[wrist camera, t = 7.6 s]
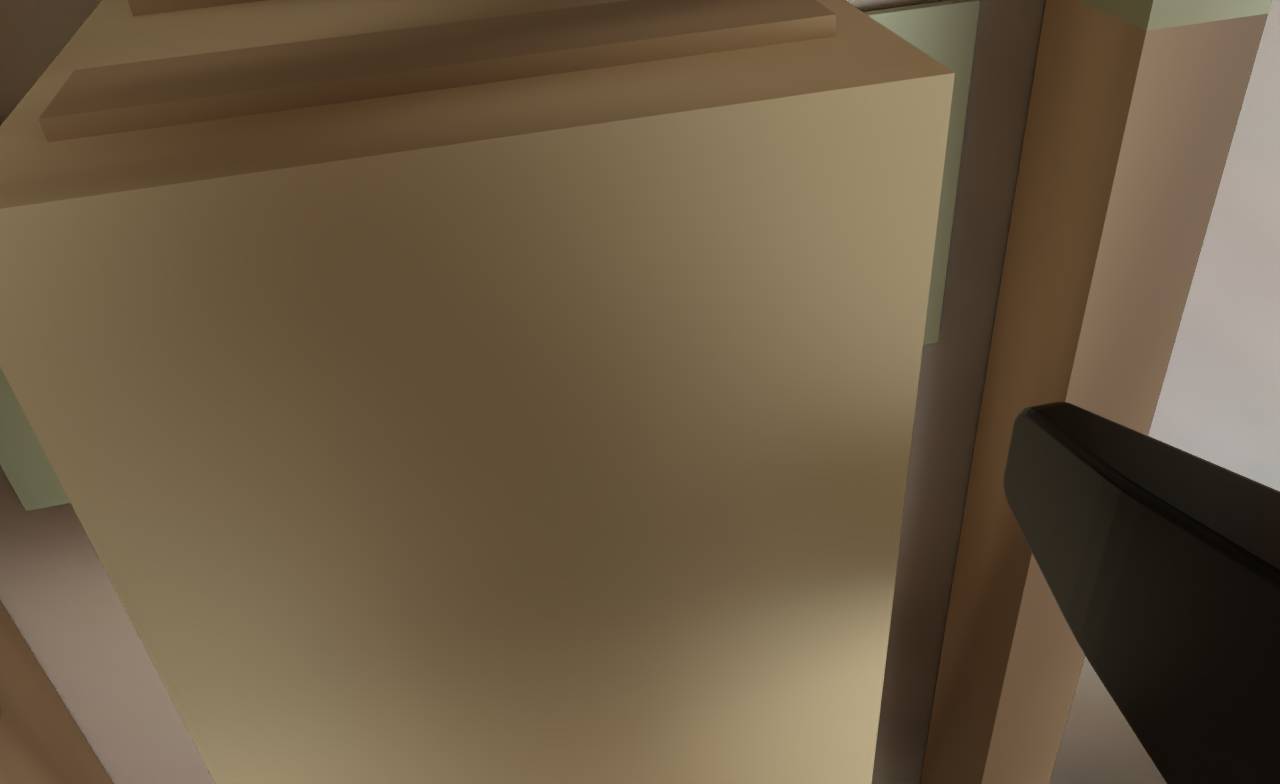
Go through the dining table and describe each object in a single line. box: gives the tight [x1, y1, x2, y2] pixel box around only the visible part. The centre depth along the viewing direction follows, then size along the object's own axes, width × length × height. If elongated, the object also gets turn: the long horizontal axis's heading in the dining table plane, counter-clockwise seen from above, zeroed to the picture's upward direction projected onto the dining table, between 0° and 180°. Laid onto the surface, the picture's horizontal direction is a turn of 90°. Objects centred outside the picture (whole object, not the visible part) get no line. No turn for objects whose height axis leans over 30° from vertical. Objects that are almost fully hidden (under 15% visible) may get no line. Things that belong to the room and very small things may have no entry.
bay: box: [0, 0, 1272, 784], centre depth 16 cm, size 18×26×3 cm
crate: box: [0, 0, 955, 784], centre depth 11 cm, size 6×8×6 cm
